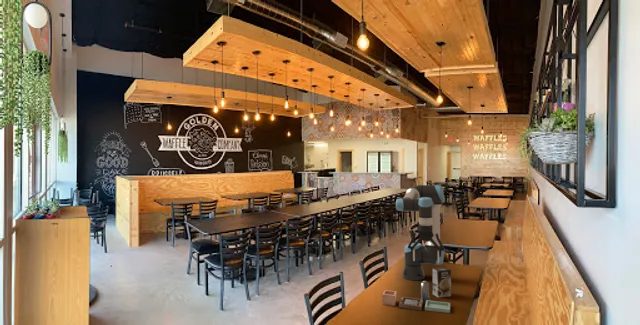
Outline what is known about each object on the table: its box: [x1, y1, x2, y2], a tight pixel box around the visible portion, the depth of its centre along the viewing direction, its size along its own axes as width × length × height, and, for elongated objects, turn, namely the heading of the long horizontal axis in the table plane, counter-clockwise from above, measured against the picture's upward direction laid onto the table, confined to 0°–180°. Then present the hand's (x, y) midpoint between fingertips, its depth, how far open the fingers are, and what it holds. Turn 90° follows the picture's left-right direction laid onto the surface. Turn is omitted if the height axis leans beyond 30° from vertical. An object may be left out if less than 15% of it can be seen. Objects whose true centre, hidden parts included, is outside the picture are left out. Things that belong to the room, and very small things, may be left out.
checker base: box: [398, 296, 424, 311], centre depth 212 cm, size 12×12×2 cm
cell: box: [420, 280, 430, 304], centre depth 217 cm, size 5×5×12 cm
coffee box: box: [432, 266, 452, 298], centre depth 226 cm, size 9×6×16 cm
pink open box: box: [381, 289, 398, 307], centre depth 215 cm, size 7×7×6 cm
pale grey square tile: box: [404, 299, 418, 305], centre depth 212 cm, size 7×7×1 cm
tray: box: [424, 299, 451, 314], centre depth 207 cm, size 10×13×2 cm
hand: (426, 261), depth 213 cm, fingers open, 13 cm apart
